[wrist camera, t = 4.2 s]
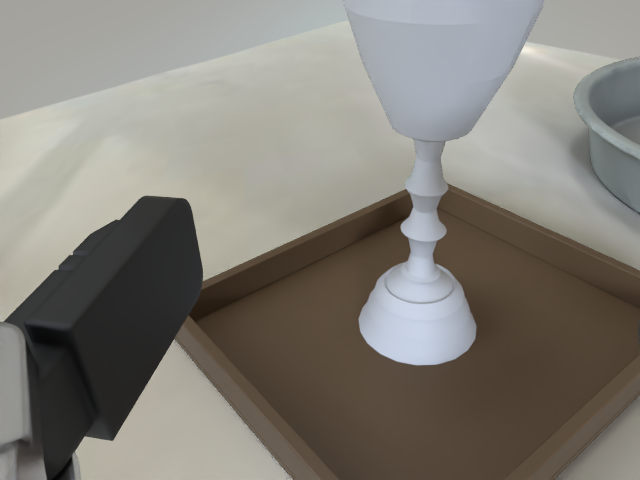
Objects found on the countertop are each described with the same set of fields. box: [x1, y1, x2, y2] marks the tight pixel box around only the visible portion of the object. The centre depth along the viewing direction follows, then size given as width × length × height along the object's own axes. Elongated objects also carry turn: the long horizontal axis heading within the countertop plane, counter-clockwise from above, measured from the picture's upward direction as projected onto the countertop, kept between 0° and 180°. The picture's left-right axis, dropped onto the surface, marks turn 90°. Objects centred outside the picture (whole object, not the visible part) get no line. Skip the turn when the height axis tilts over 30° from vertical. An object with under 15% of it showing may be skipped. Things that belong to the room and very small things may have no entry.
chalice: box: [343, 0, 544, 365], centre depth 20 cm, size 7×7×18 cm
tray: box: [175, 183, 640, 480], centre depth 24 cm, size 17×15×2 cm
